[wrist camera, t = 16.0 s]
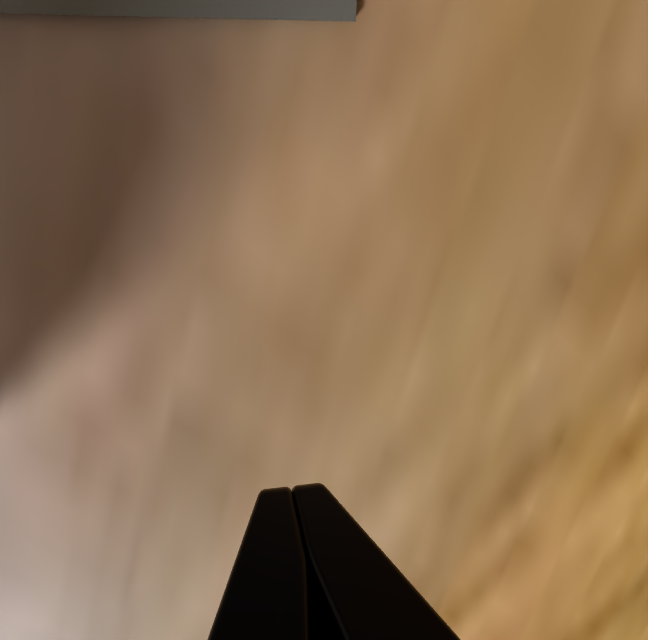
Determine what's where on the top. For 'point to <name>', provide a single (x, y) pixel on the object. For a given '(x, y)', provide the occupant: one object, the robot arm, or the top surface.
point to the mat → (191, 8)
